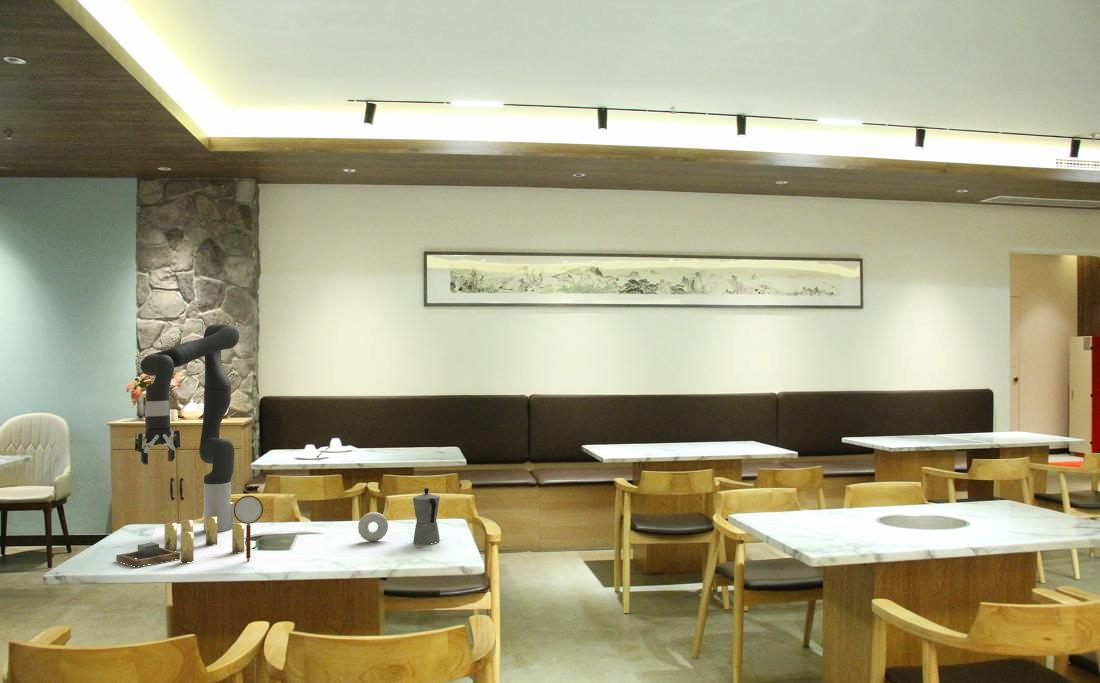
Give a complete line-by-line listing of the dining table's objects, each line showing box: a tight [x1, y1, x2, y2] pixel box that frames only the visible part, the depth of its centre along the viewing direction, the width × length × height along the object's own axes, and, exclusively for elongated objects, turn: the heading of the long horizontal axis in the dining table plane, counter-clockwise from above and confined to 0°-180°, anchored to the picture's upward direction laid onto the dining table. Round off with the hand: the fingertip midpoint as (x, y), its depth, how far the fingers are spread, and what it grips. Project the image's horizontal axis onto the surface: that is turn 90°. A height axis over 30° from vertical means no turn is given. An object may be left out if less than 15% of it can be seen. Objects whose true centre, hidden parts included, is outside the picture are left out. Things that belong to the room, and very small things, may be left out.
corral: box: [115, 546, 181, 568], centre depth 251 cm, size 13×13×2 cm
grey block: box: [137, 541, 160, 560], centre depth 251 cm, size 4×4×5 cm
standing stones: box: [163, 516, 245, 564], centre depth 261 cm, size 22×23×9 cm
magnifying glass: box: [233, 494, 264, 562], centre depth 249 cm, size 9×2×20 cm, turn 99°
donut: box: [357, 511, 389, 542], centre depth 276 cm, size 10×4×10 cm, turn 103°
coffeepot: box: [412, 487, 441, 545], centre depth 274 cm, size 15×9×18 cm, turn 26°
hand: (158, 462), depth 273 cm, fingers open, 8 cm apart
